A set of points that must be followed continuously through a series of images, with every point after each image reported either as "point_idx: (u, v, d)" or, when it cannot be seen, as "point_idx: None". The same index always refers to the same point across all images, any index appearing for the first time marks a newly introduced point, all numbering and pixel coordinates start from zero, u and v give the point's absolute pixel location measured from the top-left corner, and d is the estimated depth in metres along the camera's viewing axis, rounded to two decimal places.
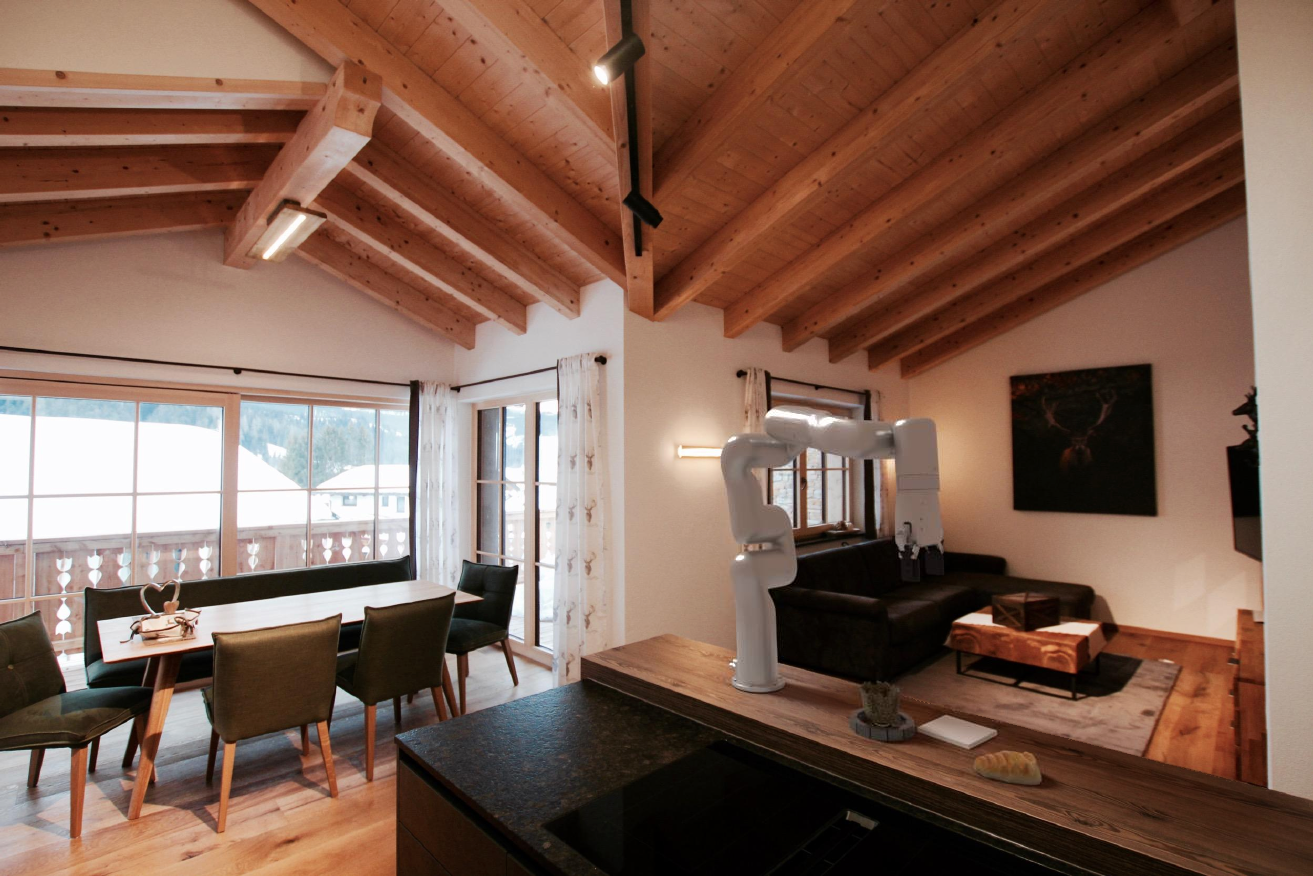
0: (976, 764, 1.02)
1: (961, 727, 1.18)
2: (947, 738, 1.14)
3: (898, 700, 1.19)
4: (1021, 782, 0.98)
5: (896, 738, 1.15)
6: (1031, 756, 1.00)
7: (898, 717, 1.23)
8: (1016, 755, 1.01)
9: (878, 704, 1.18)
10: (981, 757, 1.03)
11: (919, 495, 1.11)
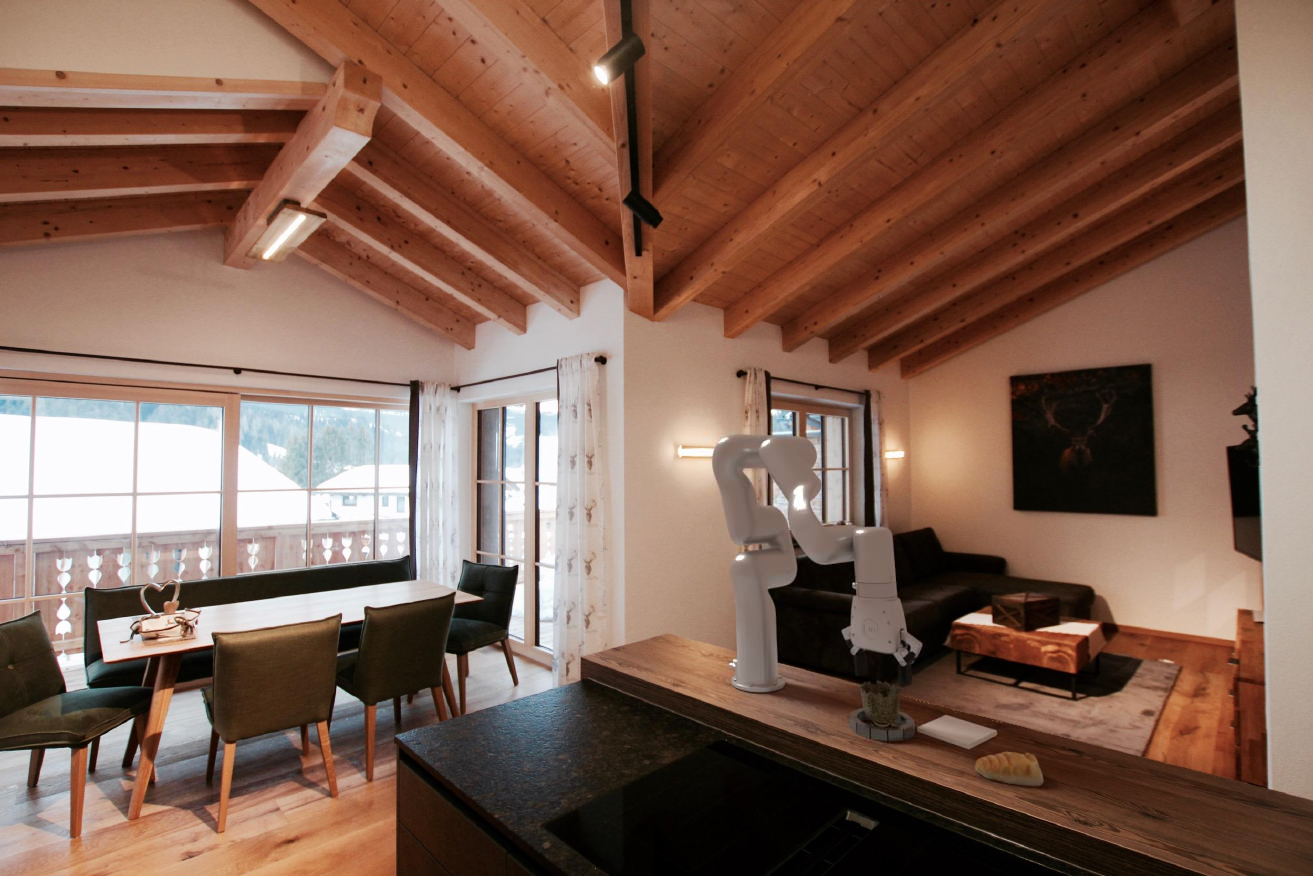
0: (978, 765, 1.01)
1: (961, 727, 1.18)
2: (947, 738, 1.14)
3: (898, 700, 1.19)
4: (1022, 783, 0.98)
5: (896, 738, 1.15)
6: (1033, 757, 1.00)
7: (898, 717, 1.23)
8: (1018, 756, 1.00)
9: (878, 704, 1.18)
10: (982, 758, 1.02)
11: None
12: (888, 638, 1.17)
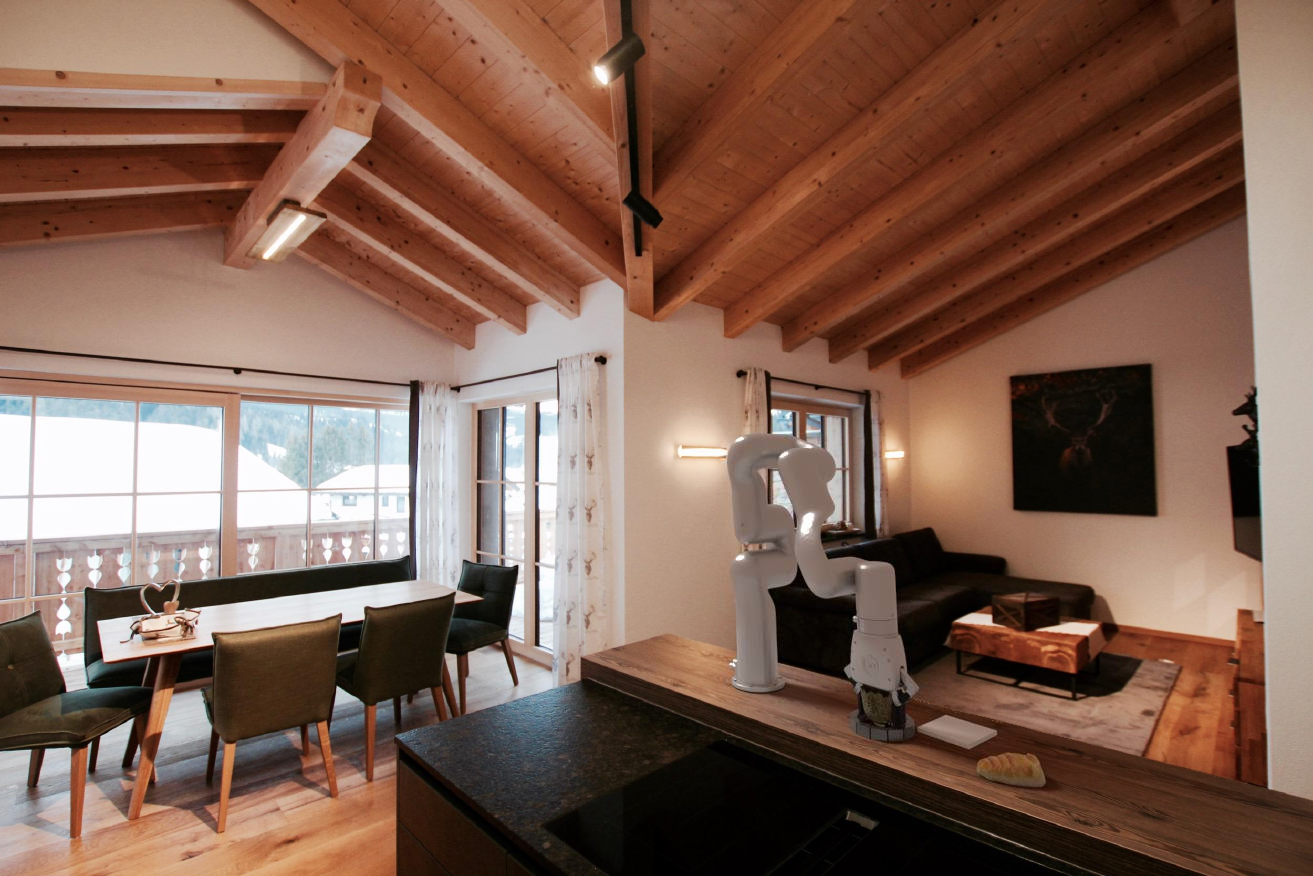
0: (979, 767, 1.01)
1: (961, 727, 1.18)
2: (947, 738, 1.14)
3: None
4: (1025, 784, 0.97)
5: (896, 738, 1.15)
6: (1035, 757, 0.99)
7: None
8: (1019, 757, 1.00)
9: (878, 704, 1.18)
10: (984, 759, 1.02)
11: None
12: (888, 676, 1.17)
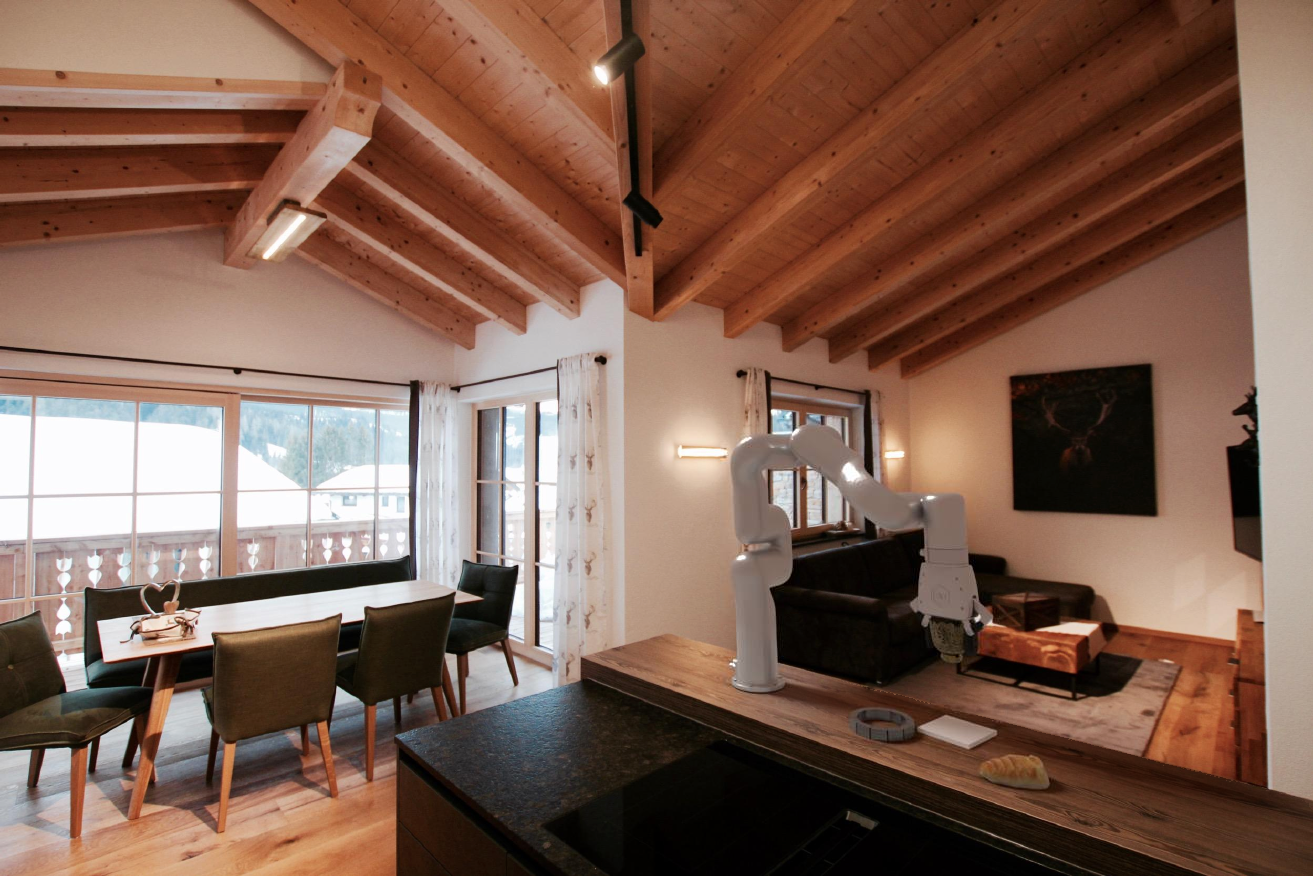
0: (983, 769, 1.00)
1: (961, 727, 1.18)
2: (947, 738, 1.14)
3: None
4: (1029, 786, 0.97)
5: (896, 738, 1.15)
6: (1038, 759, 0.99)
7: (898, 717, 1.23)
8: (1023, 759, 0.99)
9: (949, 634, 1.16)
10: (987, 762, 1.01)
11: None
12: (960, 605, 1.15)
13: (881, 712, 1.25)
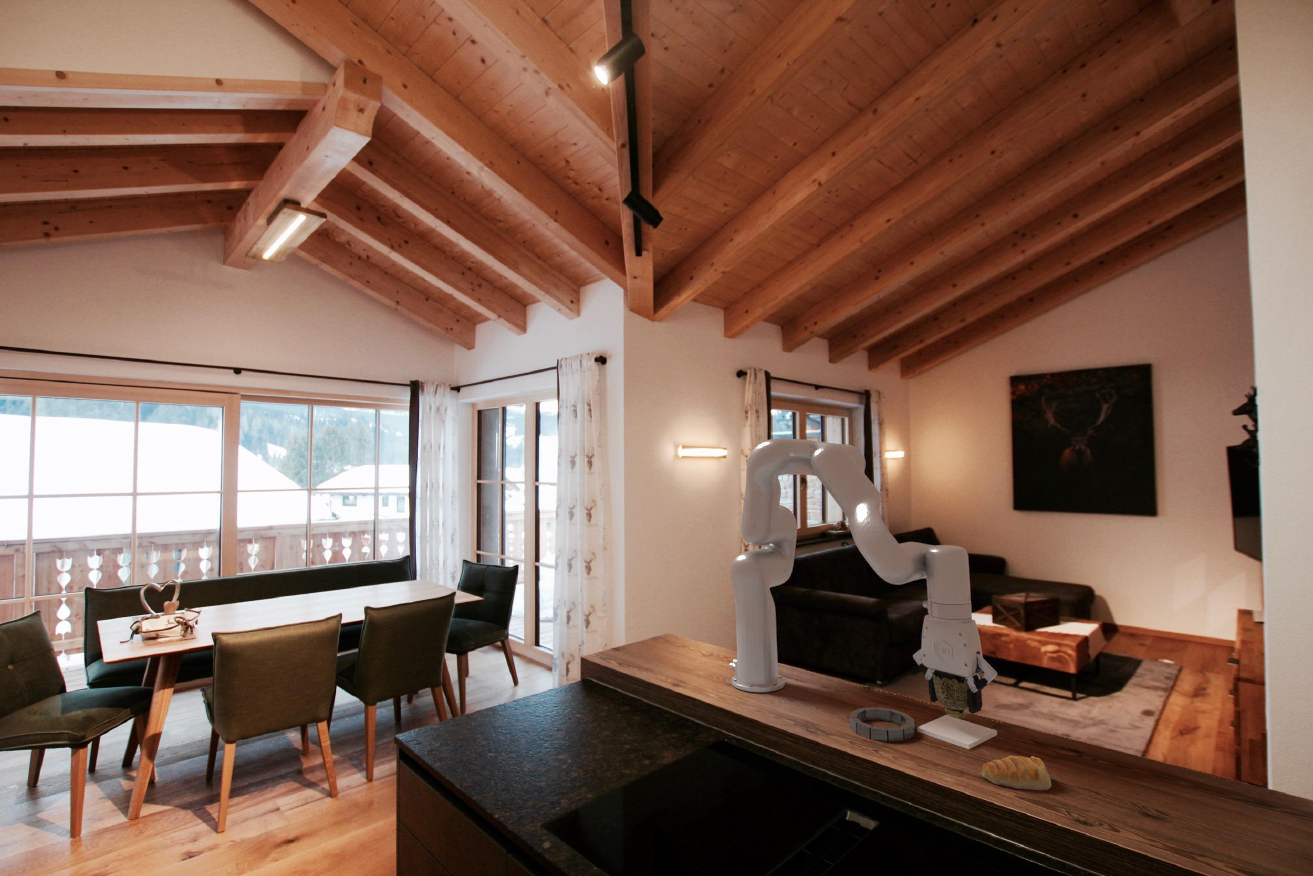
0: (985, 771, 0.99)
1: (961, 727, 1.18)
2: (947, 738, 1.14)
3: None
4: (1031, 787, 0.96)
5: (896, 738, 1.15)
6: (1039, 760, 0.98)
7: (898, 717, 1.23)
8: (1024, 760, 0.99)
9: (953, 690, 1.15)
10: (989, 763, 1.01)
11: None
12: (964, 661, 1.14)
13: (881, 712, 1.25)
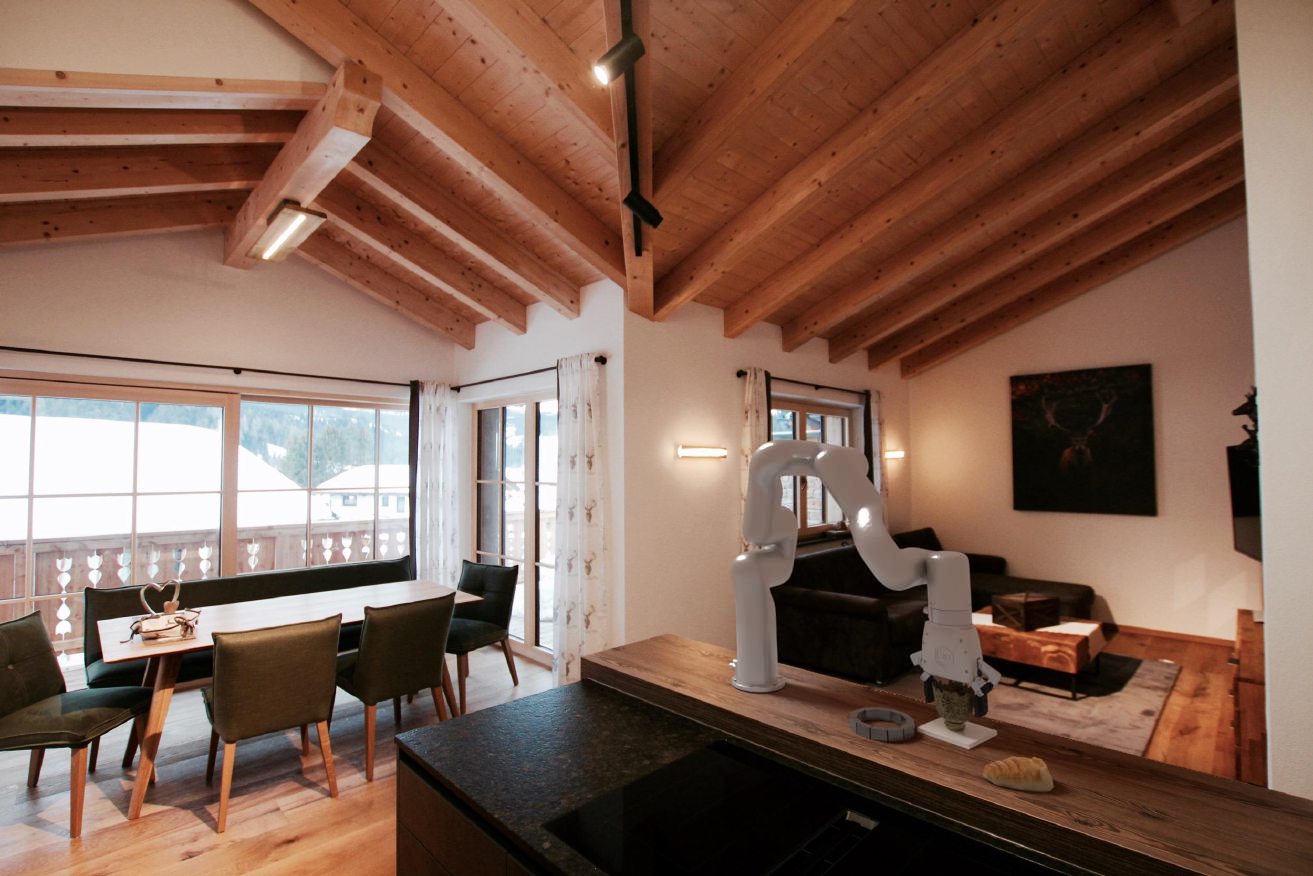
0: (987, 772, 0.99)
1: None
2: (947, 738, 1.14)
3: (973, 699, 1.16)
4: (1033, 788, 0.96)
5: (896, 738, 1.15)
6: (1041, 761, 0.98)
7: (898, 717, 1.23)
8: (1026, 761, 0.98)
9: (954, 703, 1.15)
10: (991, 764, 1.00)
11: None
12: (965, 667, 1.14)
13: (881, 712, 1.25)
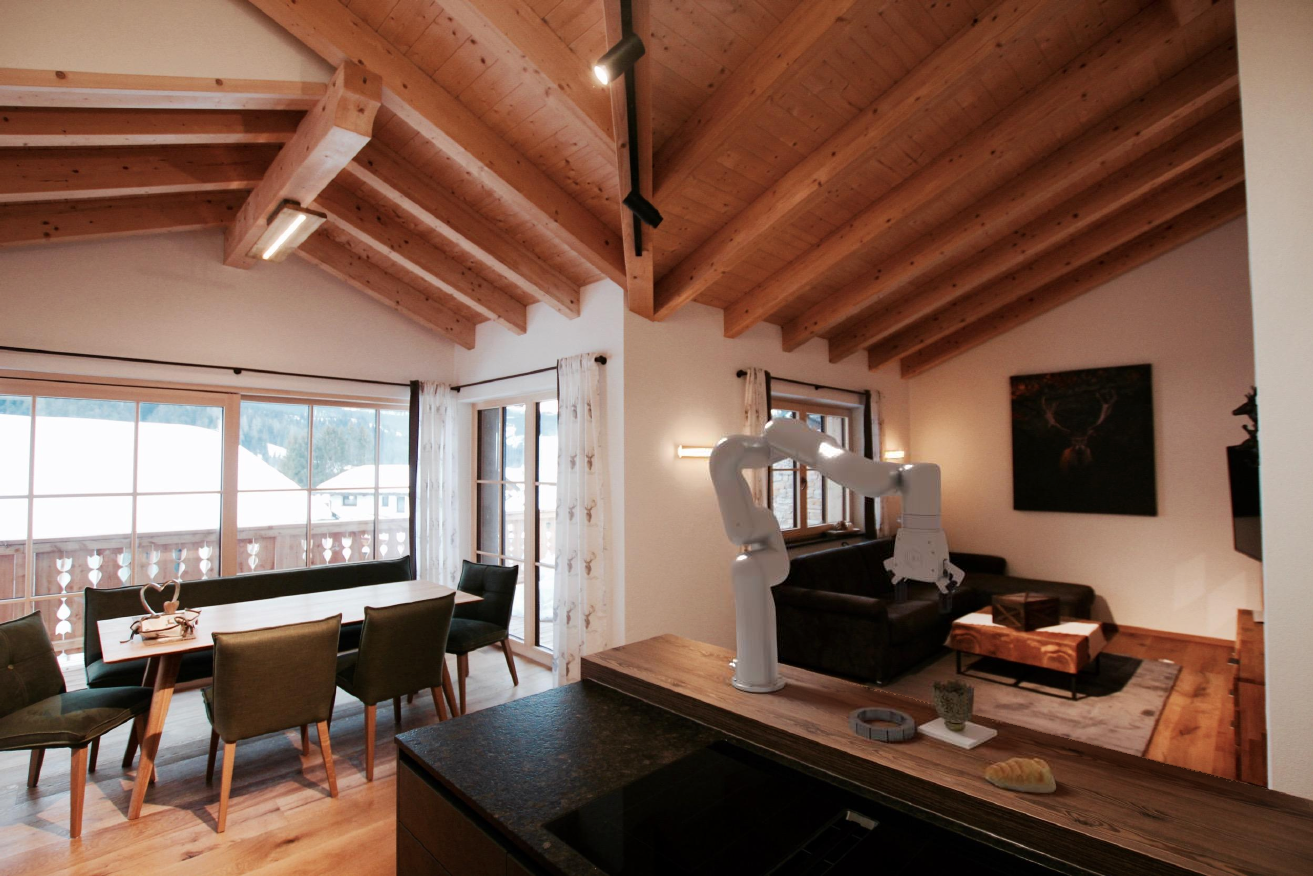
0: (989, 774, 0.98)
1: None
2: (947, 738, 1.14)
3: (973, 699, 1.16)
4: (1036, 790, 0.95)
5: (896, 738, 1.15)
6: (1044, 762, 0.98)
7: (898, 717, 1.23)
8: (1028, 762, 0.98)
9: (953, 703, 1.15)
10: (993, 766, 1.00)
11: None
12: (931, 567, 1.22)
13: (881, 712, 1.25)
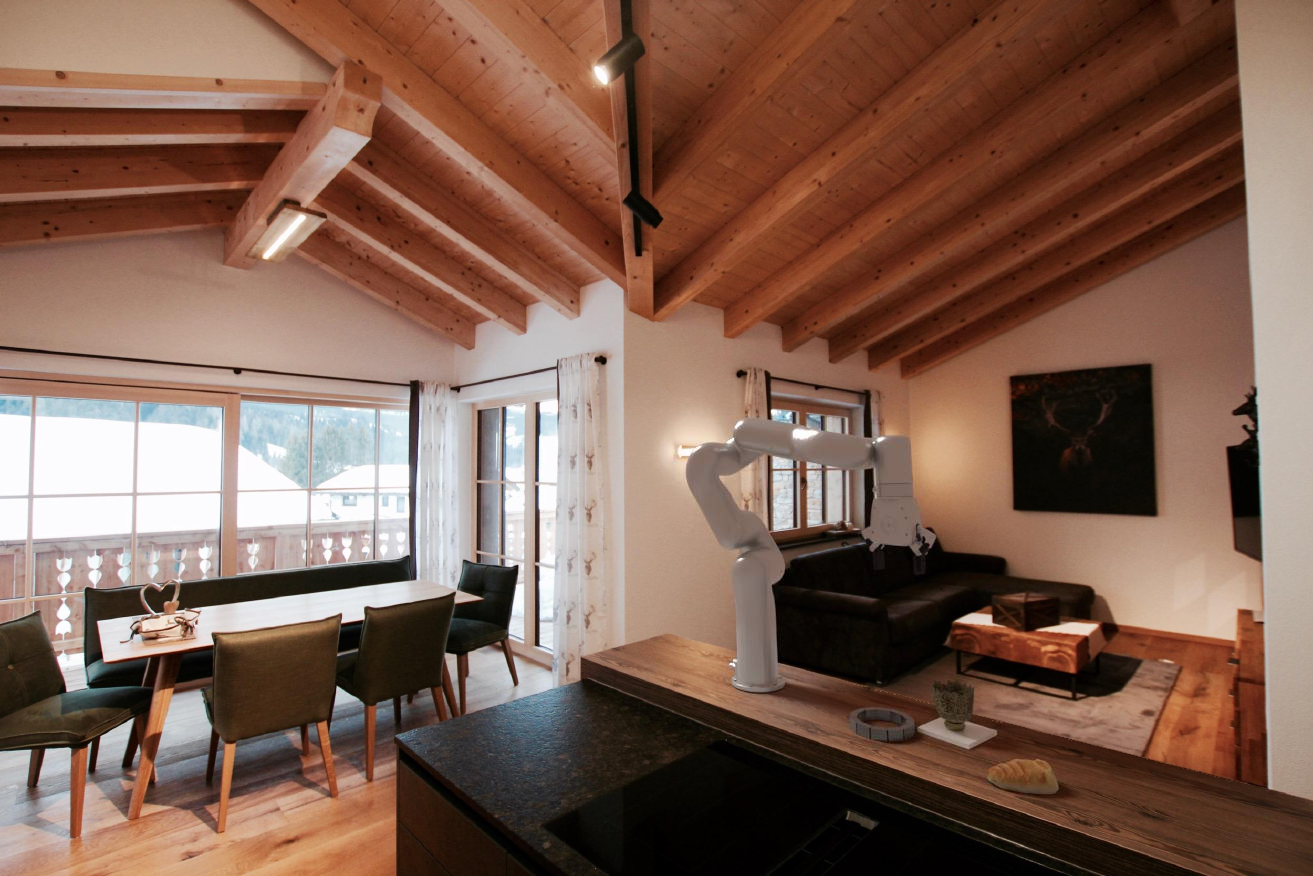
0: (992, 775, 0.98)
1: None
2: (947, 738, 1.14)
3: (973, 699, 1.16)
4: (1038, 791, 0.95)
5: (896, 738, 1.15)
6: (1046, 763, 0.97)
7: (898, 717, 1.23)
8: (1031, 763, 0.97)
9: (953, 703, 1.15)
10: (995, 767, 0.99)
11: None
12: (905, 531, 1.30)
13: (881, 712, 1.25)
